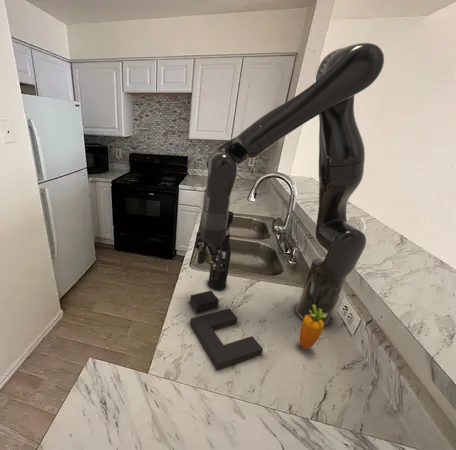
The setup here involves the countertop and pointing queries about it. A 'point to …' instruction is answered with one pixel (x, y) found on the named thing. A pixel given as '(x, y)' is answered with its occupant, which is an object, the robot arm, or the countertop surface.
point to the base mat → (215, 348)
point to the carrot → (311, 328)
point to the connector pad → (204, 301)
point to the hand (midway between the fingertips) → (207, 270)
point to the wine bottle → (221, 281)
